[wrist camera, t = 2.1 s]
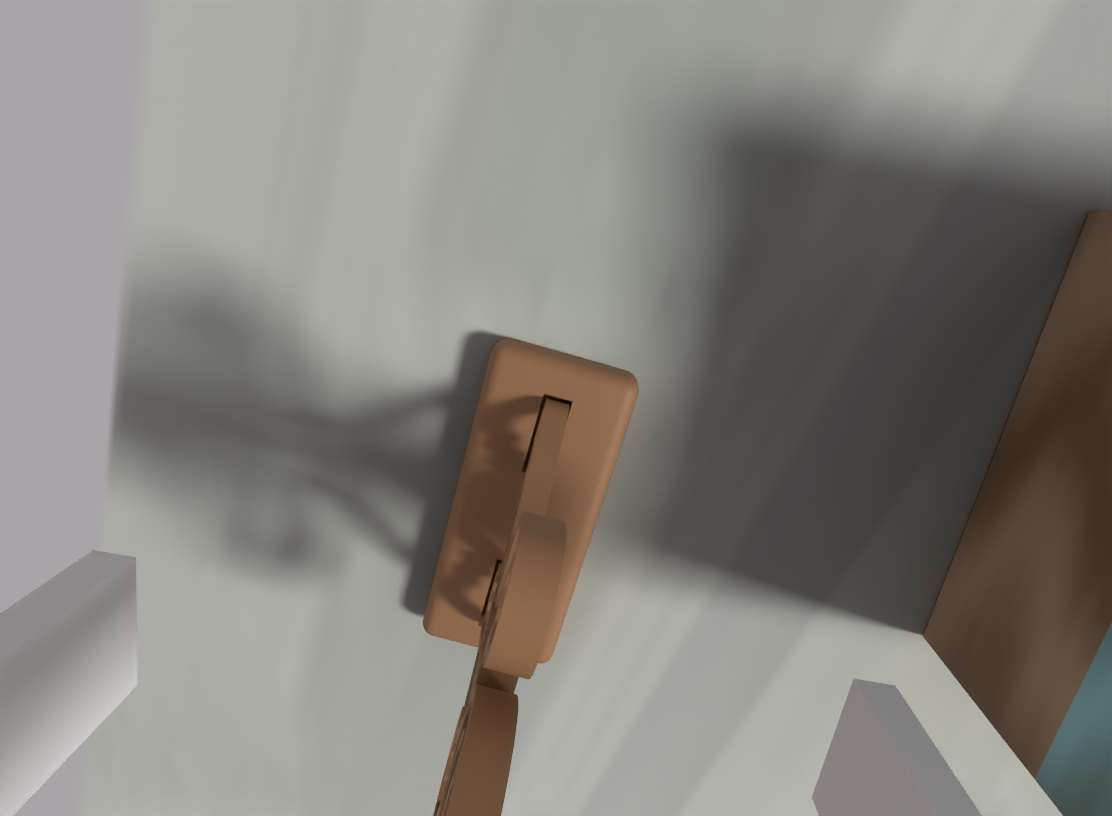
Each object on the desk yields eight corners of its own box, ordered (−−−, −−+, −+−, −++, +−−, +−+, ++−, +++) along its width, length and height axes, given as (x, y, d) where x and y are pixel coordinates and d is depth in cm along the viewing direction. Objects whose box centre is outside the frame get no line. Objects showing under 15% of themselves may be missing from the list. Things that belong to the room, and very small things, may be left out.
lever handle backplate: (551, 649, 20) (501, 1250, 8) (425, 616, 20) (203, 1180, 8) (640, 374, 17) (745, 704, 6) (497, 334, 17) (316, 590, 6)
